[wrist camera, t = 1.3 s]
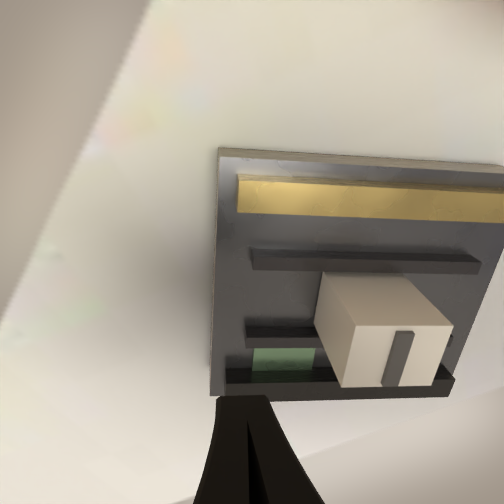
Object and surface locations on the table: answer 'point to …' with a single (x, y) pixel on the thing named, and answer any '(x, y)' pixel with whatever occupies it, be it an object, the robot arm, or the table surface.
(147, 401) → the table surface
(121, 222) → the table surface
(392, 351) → the block
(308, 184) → the breaker panel
